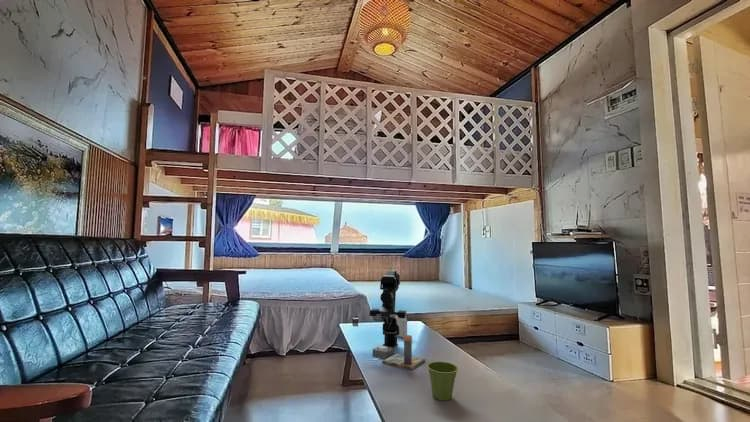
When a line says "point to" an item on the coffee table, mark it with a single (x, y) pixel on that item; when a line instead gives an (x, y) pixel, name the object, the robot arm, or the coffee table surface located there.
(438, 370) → the plant pot
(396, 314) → the robot arm
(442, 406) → the coffee table surface
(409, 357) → the marker
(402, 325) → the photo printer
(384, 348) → the button
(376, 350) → the button housing
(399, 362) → the picture board
